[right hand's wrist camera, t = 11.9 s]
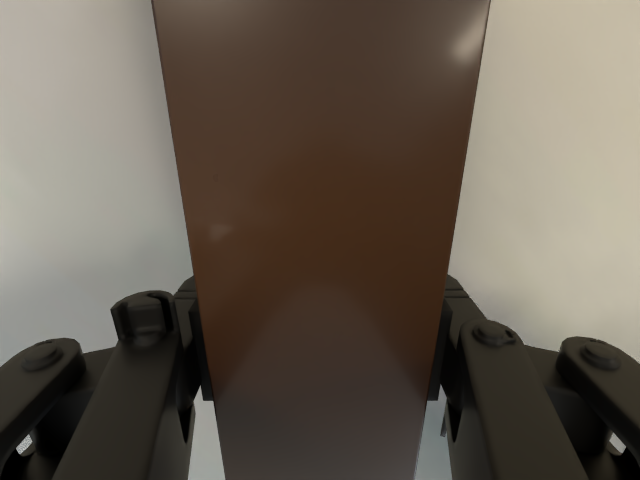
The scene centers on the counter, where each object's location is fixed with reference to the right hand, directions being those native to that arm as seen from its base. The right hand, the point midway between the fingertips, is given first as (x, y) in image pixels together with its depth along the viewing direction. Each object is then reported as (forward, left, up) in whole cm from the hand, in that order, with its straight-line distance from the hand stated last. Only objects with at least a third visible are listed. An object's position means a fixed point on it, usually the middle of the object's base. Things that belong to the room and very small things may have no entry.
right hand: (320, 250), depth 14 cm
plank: (0, -15, +1) cm, 15 cm away
